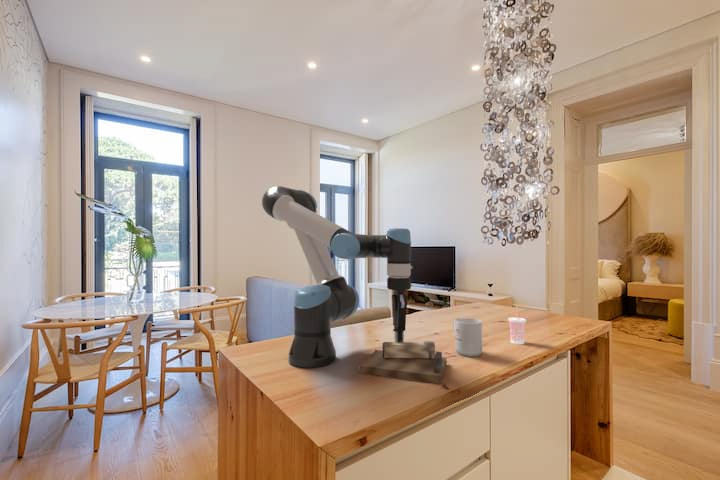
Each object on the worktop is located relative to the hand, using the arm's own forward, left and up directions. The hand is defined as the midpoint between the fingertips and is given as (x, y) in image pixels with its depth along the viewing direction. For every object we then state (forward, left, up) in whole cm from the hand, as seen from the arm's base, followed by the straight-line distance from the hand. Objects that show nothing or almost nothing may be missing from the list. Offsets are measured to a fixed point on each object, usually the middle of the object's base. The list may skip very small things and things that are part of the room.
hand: (399, 350), depth 105 cm
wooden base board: (+3, -5, -3) cm, 7 cm away
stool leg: (+3, -1, -1) cm, 4 cm away
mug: (+19, +18, -4) cm, 27 cm away
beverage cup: (+37, +37, -4) cm, 53 cm away
